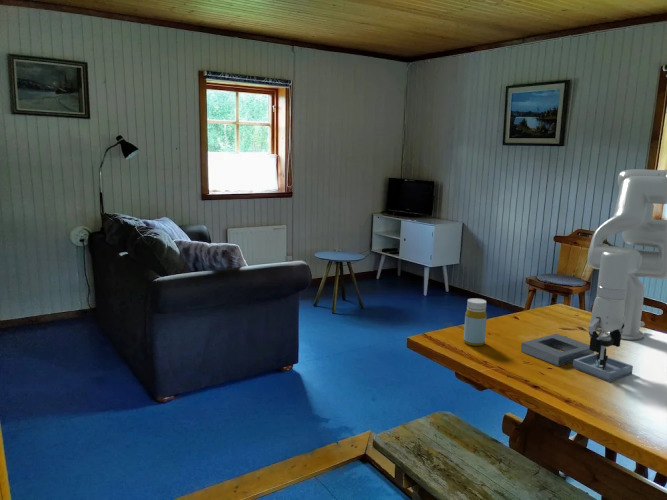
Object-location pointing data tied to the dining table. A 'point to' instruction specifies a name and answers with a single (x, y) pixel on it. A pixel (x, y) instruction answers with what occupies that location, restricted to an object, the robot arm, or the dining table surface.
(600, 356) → the push button
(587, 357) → the tray
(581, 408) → the dining table surface
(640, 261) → the robot arm
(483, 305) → the bottle
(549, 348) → the block
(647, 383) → the dining table surface
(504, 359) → the dining table surface
